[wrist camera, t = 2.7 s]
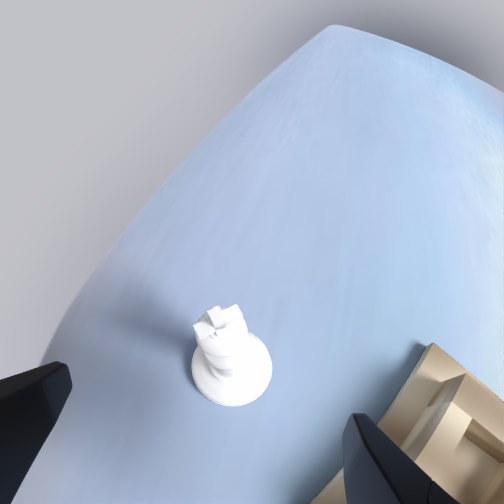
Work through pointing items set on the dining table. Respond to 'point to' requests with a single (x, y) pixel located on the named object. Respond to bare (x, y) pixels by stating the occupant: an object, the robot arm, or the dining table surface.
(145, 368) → the dining table surface
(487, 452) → the socket block
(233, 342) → the chess piece
